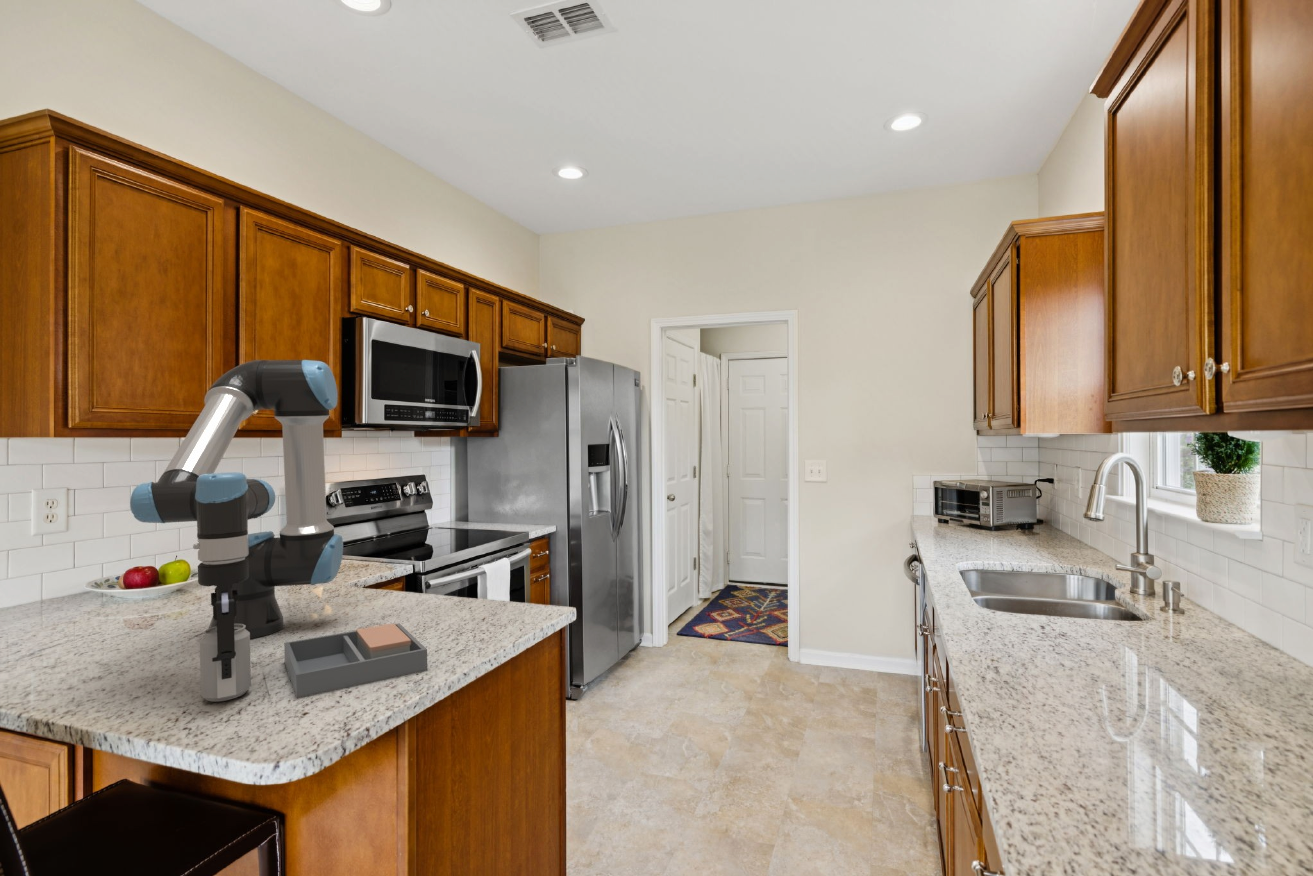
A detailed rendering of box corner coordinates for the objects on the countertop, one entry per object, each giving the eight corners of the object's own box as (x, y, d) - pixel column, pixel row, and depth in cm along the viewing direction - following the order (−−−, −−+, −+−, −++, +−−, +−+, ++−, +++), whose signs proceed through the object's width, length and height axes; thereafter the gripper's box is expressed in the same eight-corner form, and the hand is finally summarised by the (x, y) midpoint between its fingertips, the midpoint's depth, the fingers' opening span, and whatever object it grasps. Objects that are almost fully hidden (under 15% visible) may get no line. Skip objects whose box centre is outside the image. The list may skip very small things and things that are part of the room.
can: (226, 705, 111) (224, 635, 111) (189, 702, 112) (188, 633, 112) (261, 687, 118) (259, 622, 118) (226, 685, 120) (225, 620, 120)
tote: (284, 667, 130) (284, 642, 130) (399, 646, 142) (399, 623, 142) (296, 703, 112) (296, 674, 112) (427, 675, 124) (427, 649, 124)
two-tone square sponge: (356, 654, 134) (356, 629, 134) (394, 647, 138) (393, 623, 138) (370, 675, 122) (370, 647, 122) (411, 666, 126) (411, 640, 126)
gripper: (198, 554, 121) (201, 675, 122) (196, 572, 105) (199, 713, 105) (245, 549, 126) (248, 667, 126) (251, 566, 109) (254, 702, 109)
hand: (226, 688), depth 115 cm, fingers closed on can, 7 cm apart
